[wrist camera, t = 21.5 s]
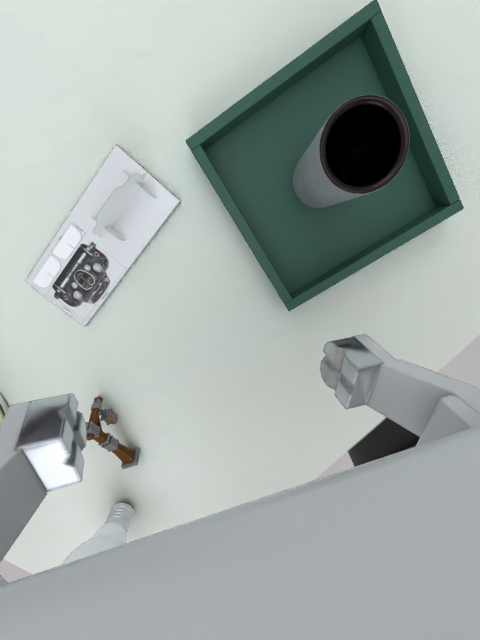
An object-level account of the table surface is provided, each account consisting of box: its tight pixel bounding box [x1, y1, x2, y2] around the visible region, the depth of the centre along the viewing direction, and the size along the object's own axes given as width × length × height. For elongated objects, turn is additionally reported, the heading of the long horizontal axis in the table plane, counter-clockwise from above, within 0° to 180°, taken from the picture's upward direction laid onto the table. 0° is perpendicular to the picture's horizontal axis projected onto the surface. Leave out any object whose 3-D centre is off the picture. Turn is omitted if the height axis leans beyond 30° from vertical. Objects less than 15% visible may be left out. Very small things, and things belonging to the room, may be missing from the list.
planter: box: [292, 95, 410, 208], centre depth 20 cm, size 4×4×10 cm
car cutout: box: [25, 144, 181, 327], centre depth 26 cm, size 15×7×4 cm, turn 139°
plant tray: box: [186, 0, 463, 311], centre depth 25 cm, size 16×16×2 cm
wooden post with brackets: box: [85, 396, 140, 469], centre depth 32 cm, size 2×8×4 cm, turn 21°
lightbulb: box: [62, 503, 134, 565], centre depth 31 cm, size 6×6×11 cm
